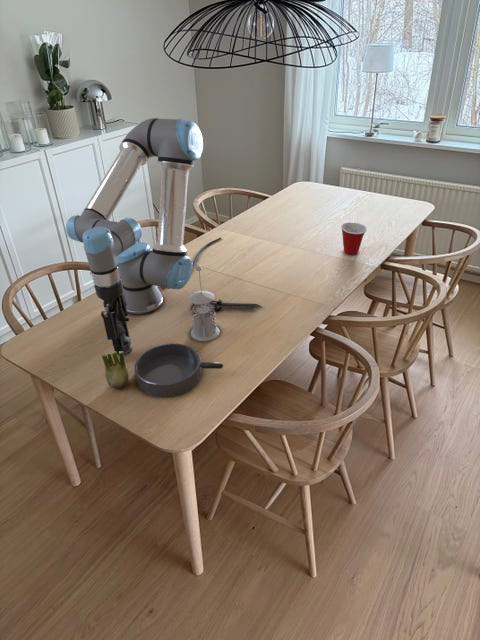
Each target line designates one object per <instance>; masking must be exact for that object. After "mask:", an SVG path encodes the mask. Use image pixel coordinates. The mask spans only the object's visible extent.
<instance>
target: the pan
mask: <svg viewBox="0 0 480 640" xmlns="http://www.w3.org/2000/svg"><path fill="white" fill-rule="evenodd" d="M201 361H202V360H201V357H200V354H199V353H198V351H197V350H196V349H194V348H193V347H192V346H189V345H186V344H181V343H164V344H160V345H155V346H153V347H151V348H149V349H147V350H146V351H143V353H141V354H140V355H139V357H138V358H137V359H136V361H135V363H134V375H135V380H136V382H137V386H138V387H139V388H140V390H141V391H142V392H144V393H145V394H148V395H150V396H153V397H159V398H168V397H175V396H178V395H182V394H185V393H186V392H188V391H190V390H191V389H192V388H194V387H195V386H196V385H197V384H198V383H199V381H200V380H201V377H202V371H203V370H202V368H201V367H200V364H201V363H202V362H201Z"/></svg>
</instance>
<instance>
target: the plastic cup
mask: <svg viewBox="0 0 480 640" xmlns="http://www.w3.org/2000/svg"><path fill="white" fill-rule="evenodd" d="M340 228H341V235H342V245H343V253H344V255H346V256H356V255H358V253H359V250H360V248H361V244H362V242H363V238H364V236H365V233H366V232H367V230H368V228H367V226H366V225H364V224H362V223H359V222H354V221H347V222H344V223H342V224H341V226H340Z"/></svg>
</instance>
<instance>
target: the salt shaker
mask: <svg viewBox="0 0 480 640" xmlns="http://www.w3.org/2000/svg"><path fill="white" fill-rule="evenodd" d="M117 321H118V320H117ZM118 330H119V335H121V339H122V343H123V347H124V357H125V356H129V355H130V354H131V353H132V352H133V347H132V338H131V336H130V337H127V336H125V329H124V328H123V324H122V322H121V321H118ZM111 344H112V345H111V346H113V342H112V341H111ZM117 356H118V357H119V354H117Z"/></svg>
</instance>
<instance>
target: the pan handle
mask: <svg viewBox="0 0 480 640" xmlns="http://www.w3.org/2000/svg"><path fill="white" fill-rule="evenodd" d="M200 367H201V369H208V370H209V369H211V370H214V369H215V370H217V369H218V370H219V369H223V367H224V363H222V362H219V361H218V362H214V361H213V362H212V361H211V362H210V361H209V362H208V361H203V362H201V364H200Z"/></svg>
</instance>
